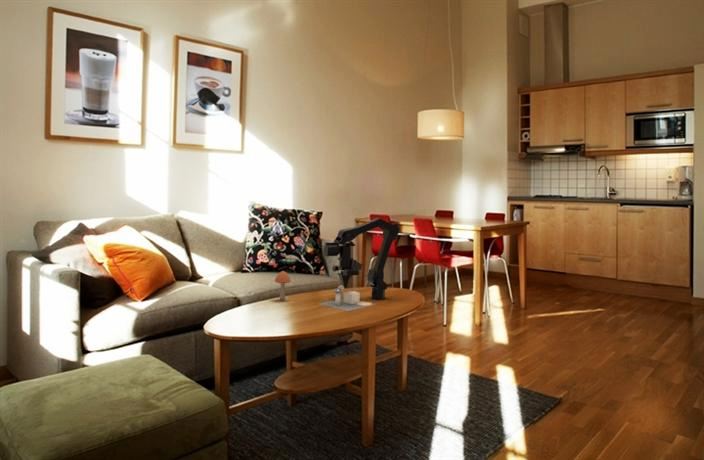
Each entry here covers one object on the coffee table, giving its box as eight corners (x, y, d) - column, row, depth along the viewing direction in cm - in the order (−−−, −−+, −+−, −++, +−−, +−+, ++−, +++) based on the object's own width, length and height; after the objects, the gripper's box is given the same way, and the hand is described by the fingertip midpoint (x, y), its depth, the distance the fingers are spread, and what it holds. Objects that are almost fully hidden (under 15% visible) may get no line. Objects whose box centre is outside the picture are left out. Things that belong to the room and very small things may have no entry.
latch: (341, 293, 235) (341, 290, 235) (333, 292, 235) (333, 290, 235) (345, 288, 247) (345, 285, 247) (338, 287, 247) (338, 285, 247)
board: (346, 300, 254) (346, 285, 254) (376, 306, 240) (376, 291, 240) (317, 306, 241) (317, 291, 240) (347, 313, 227) (347, 297, 226)
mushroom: (288, 302, 247) (287, 272, 246) (272, 302, 249) (272, 271, 248) (293, 299, 255) (293, 269, 254) (278, 298, 257) (277, 269, 256)
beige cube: (351, 300, 248) (351, 290, 247) (359, 302, 244) (359, 291, 243) (343, 302, 244) (343, 291, 243) (351, 304, 240) (351, 293, 240)
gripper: (368, 256, 239) (369, 289, 239) (352, 253, 256) (352, 284, 256) (347, 258, 234) (347, 291, 235) (331, 254, 251) (332, 285, 252)
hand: (345, 288), depth 245 cm, fingers closed
